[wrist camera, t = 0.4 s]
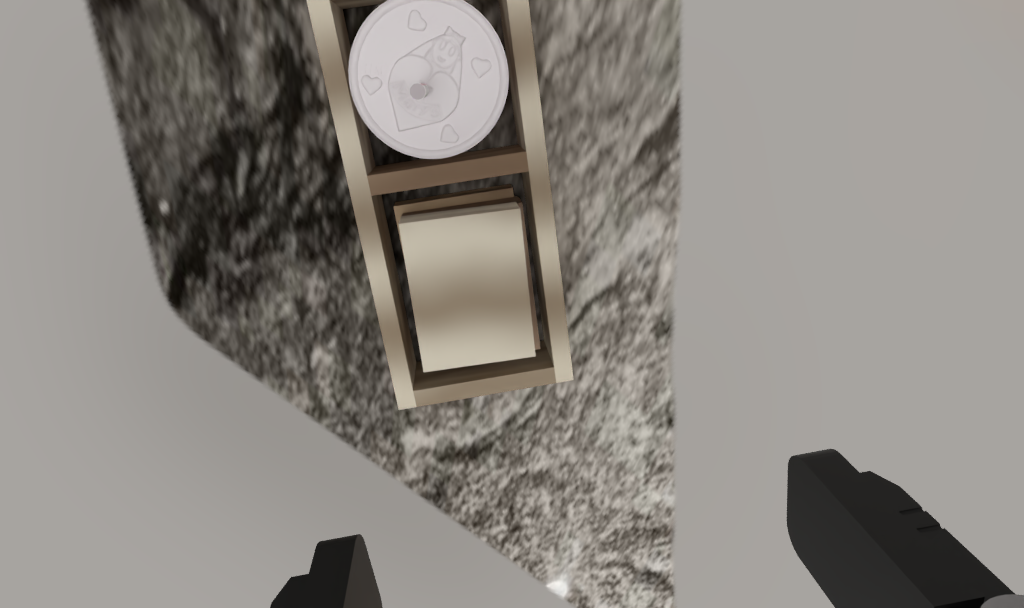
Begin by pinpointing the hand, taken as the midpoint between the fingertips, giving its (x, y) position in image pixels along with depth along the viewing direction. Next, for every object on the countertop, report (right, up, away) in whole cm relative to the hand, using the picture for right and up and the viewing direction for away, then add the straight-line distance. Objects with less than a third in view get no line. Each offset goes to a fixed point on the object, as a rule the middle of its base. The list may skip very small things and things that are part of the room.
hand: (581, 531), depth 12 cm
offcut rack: (-5, +11, +24) cm, 27 cm away
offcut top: (-4, +5, +23) cm, 24 cm away
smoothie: (-6, +16, +23) cm, 28 cm away
